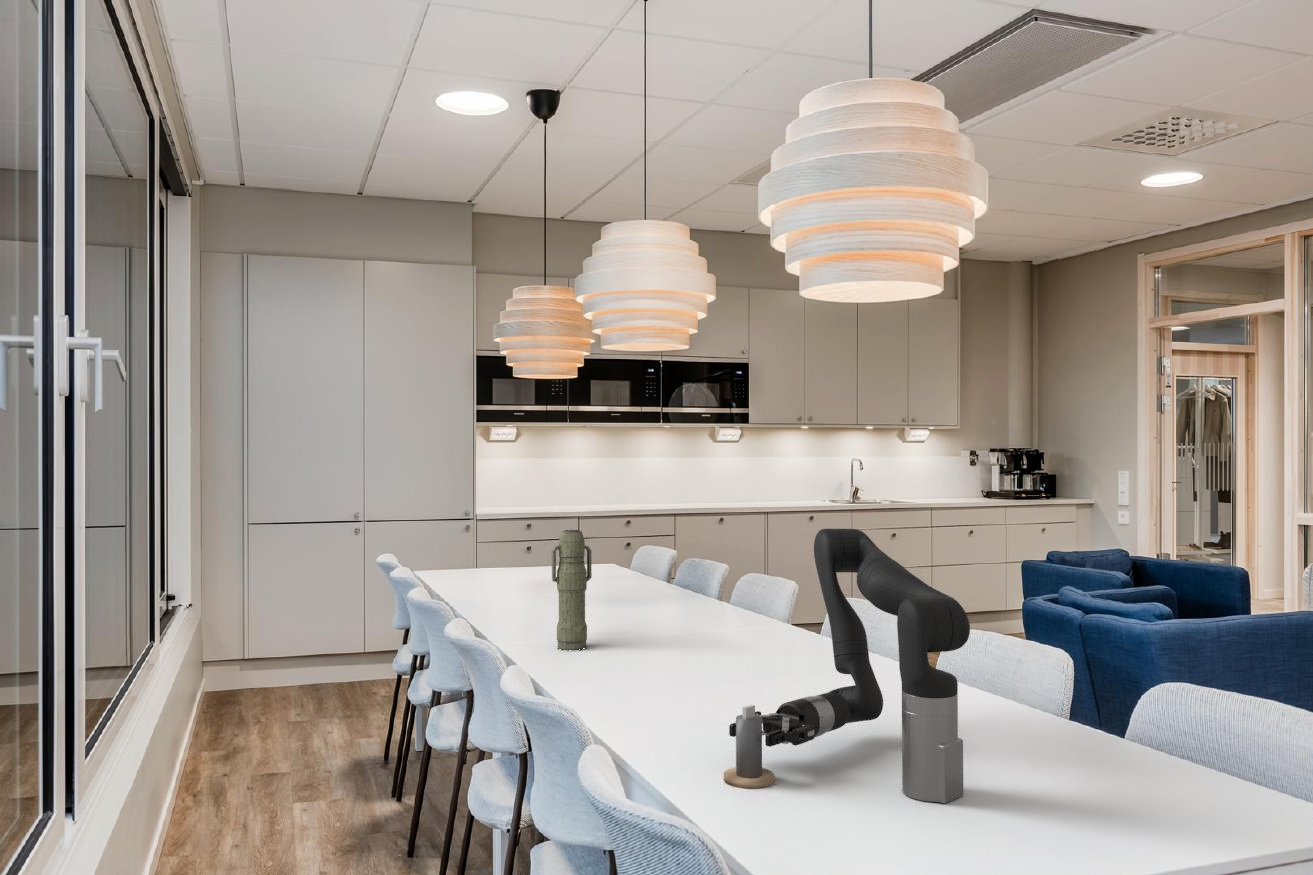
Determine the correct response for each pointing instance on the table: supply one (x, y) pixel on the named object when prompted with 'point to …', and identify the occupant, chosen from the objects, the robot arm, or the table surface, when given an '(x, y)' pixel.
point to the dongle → (749, 744)
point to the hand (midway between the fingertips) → (748, 735)
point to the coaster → (749, 779)
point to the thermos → (571, 589)
